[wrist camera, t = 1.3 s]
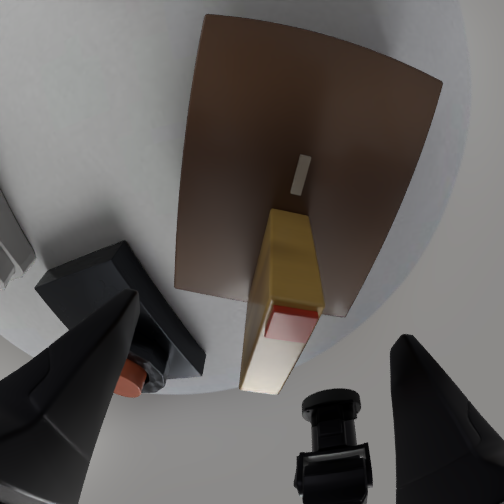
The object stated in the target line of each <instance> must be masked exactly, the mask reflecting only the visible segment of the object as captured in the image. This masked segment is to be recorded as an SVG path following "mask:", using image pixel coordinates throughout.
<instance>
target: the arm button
mask: <svg viewBox="0 0 504 504" xmlns="http://www.w3.org/2000/svg"><path fill="white" fill-rule="evenodd" d="M146 376H147V373H146V371H145V370H144V369H143V368H142V367H141V366H140V365H138V364H136V363H134V362H133V361H131V360H129V359H126V362H125V364H124V367H123V369H122V372H121V374H120V377H119V379H118V382H117V385H116V387H115V390H114V393H116V394H118V395H121V396H125V397H132V398H133V397H138V396H140V394H141V392H142V389H143V385H144V382H145V379H146Z"/></svg>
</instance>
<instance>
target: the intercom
mask: <svg viewBox="0 0 504 504" xmlns="http://www.w3.org/2000/svg"><path fill="white" fill-rule="evenodd" d="M35 258H36V257H35V254H34V251H33V249H32V248H31V246H30V244H29V243H28V241H27V239H26V237H25V236H24V234H23V232H22V230H21V229H20V227H19V225H18V223H17V221H16V219H15V218H14V216H13V214H12V212H11V210H10V208H9V206H8V204H7V202H6V200H5V198H4V196H3V194H2V192H1V190H0V291H1V290H5V288H6V286H7V284H8V282H9V280H10V281H12V280H15V279H19V278H22V277H23V276H24V274H25V273H26V272H27V271H28V269H29V268H30V267H31V266H32V264H33V263H34V261H35Z"/></svg>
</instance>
